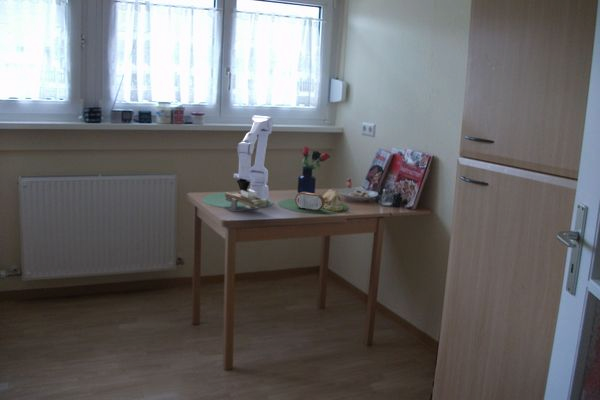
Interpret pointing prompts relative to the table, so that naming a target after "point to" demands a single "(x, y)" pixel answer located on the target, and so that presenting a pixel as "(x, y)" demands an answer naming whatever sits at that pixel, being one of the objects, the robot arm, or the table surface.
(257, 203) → the tan wooden tray
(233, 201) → the stand
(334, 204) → the ceramic model
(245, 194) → the block
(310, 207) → the tin
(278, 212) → the table surface
